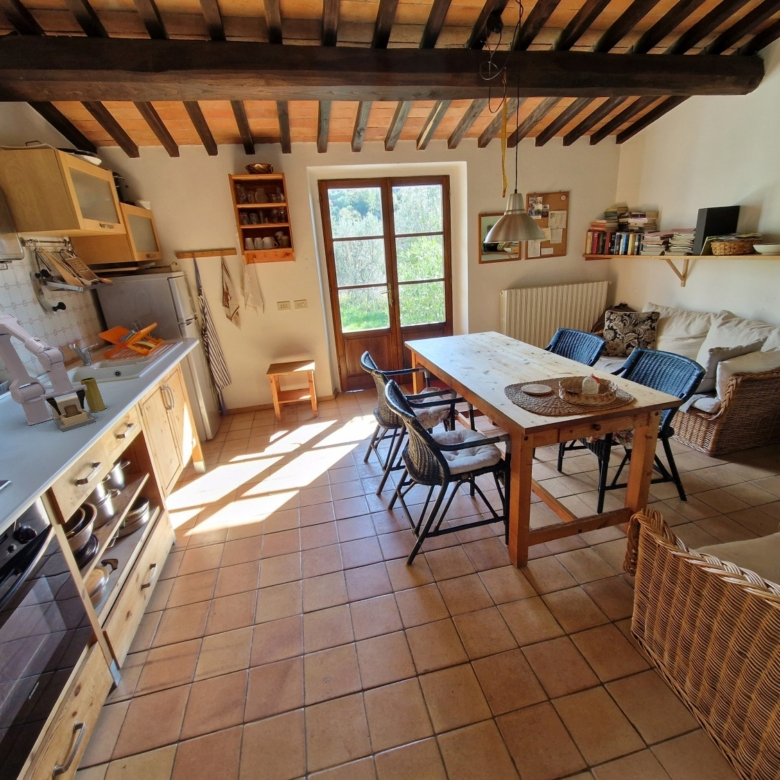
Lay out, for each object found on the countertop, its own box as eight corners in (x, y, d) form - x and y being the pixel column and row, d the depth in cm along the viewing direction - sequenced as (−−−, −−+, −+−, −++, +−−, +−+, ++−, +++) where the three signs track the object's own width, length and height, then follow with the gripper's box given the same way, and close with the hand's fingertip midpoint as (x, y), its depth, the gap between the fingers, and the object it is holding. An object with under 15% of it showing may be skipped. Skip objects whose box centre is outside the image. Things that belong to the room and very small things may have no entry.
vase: (103, 406, 183) (93, 375, 179) (108, 408, 180) (97, 378, 175) (87, 410, 179) (76, 380, 174) (92, 413, 175) (81, 382, 170)
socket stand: (54, 422, 169) (46, 402, 166) (86, 413, 176) (79, 394, 173) (62, 432, 158) (54, 411, 155) (95, 421, 166) (88, 401, 163)
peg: (67, 420, 166) (62, 406, 163) (79, 417, 168) (74, 403, 166) (70, 422, 163) (64, 409, 161) (81, 419, 166) (76, 405, 164)
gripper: (38, 387, 152) (51, 420, 157) (84, 376, 162) (95, 407, 167) (35, 383, 157) (47, 416, 161) (80, 373, 167) (90, 404, 171)
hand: (71, 411), depth 164 cm, fingers open, 7 cm apart
